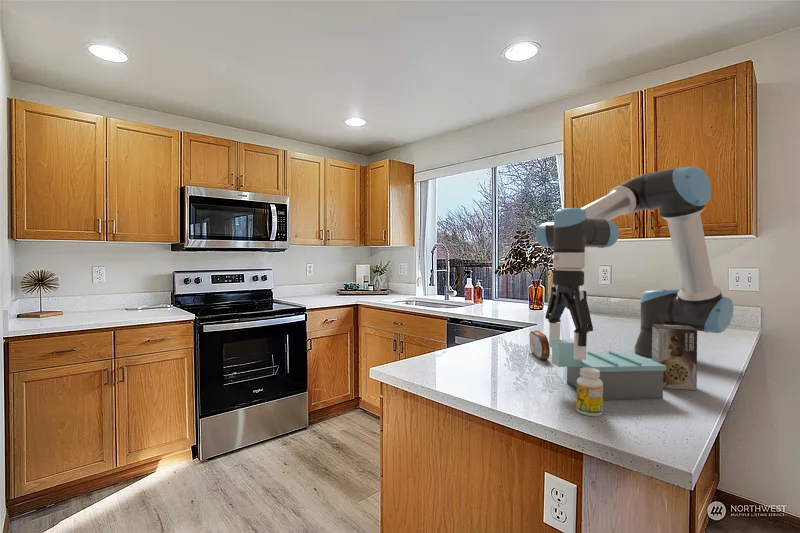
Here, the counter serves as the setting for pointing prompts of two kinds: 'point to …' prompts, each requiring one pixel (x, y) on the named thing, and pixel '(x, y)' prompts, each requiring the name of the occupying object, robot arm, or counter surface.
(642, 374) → the tub
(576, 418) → the counter surface
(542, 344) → the tin
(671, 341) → the coffee box
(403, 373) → the counter surface
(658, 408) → the counter surface
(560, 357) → the lid
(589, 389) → the supplement bottle
